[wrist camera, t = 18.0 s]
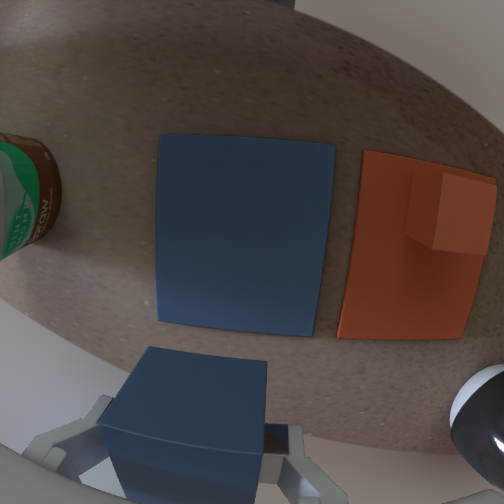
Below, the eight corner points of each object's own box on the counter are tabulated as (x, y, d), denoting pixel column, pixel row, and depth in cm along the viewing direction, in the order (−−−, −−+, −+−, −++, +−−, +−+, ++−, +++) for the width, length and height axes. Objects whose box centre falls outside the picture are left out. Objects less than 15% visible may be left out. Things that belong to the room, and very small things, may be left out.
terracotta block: (412, 170, 20) (443, 172, 15) (462, 181, 20) (497, 186, 15) (403, 234, 21) (432, 250, 17) (454, 240, 21) (486, 256, 16)
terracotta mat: (362, 149, 20) (364, 149, 20) (492, 178, 20) (496, 179, 19) (336, 334, 24) (337, 338, 23) (458, 335, 23) (461, 338, 23)
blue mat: (162, 135, 21) (159, 134, 20) (334, 145, 20) (336, 145, 20) (159, 317, 25) (157, 321, 24) (311, 333, 24) (312, 337, 23)
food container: (57, 277, 24) (-18, 325, 15) (13, 250, 24) (-62, 284, 14) (90, 139, 21) (-2, 134, 12) (39, 122, 21) (-48, 116, 11)
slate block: (148, 345, 12) (97, 422, 7) (267, 360, 11) (263, 454, 7) (158, 425, 13) (126, 500, 8) (257, 440, 13) (250, 523, 8)
